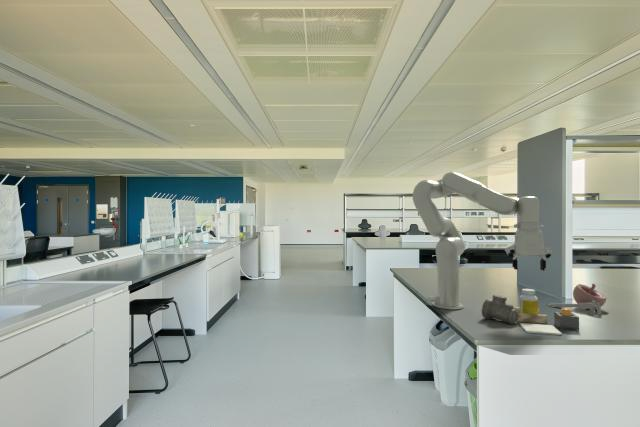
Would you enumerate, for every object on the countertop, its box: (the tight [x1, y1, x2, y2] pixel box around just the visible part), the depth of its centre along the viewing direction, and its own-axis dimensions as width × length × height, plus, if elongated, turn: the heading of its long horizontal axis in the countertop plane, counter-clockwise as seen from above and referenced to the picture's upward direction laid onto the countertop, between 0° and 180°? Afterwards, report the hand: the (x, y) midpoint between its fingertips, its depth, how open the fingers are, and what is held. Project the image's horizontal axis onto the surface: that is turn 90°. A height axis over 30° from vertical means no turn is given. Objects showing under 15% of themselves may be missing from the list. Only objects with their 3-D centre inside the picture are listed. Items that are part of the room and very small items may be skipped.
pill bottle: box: [519, 288, 539, 314], centre depth 147 cm, size 6×6×12 cm
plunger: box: [560, 307, 572, 316], centre depth 134 cm, size 3×3×5 cm
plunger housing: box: [553, 311, 580, 332], centre depth 134 cm, size 6×6×5 cm
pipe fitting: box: [481, 294, 518, 325], centre depth 143 cm, size 12×8×10 cm
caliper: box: [546, 300, 602, 316], centre depth 160 cm, size 21×1×6 cm, turn 32°
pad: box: [519, 322, 563, 336], centre depth 132 cm, size 11×10×1 cm
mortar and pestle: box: [572, 283, 607, 310], centre depth 162 cm, size 12×12×12 cm
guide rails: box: [514, 306, 548, 324], centre depth 147 cm, size 10×11×3 cm
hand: (528, 269), depth 147 cm, fingers open, 9 cm apart
